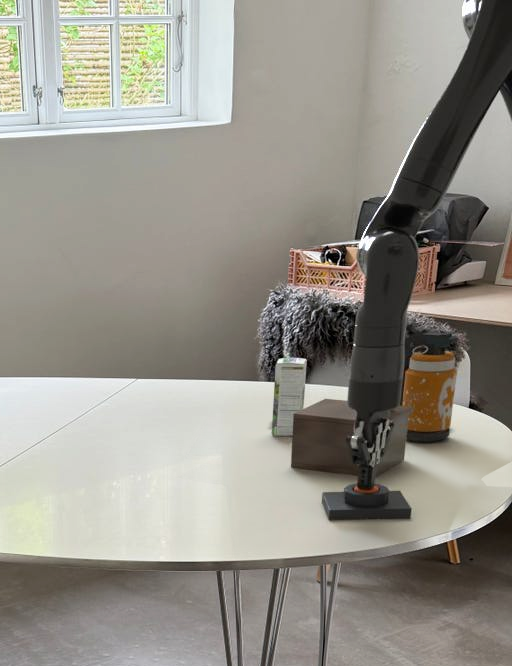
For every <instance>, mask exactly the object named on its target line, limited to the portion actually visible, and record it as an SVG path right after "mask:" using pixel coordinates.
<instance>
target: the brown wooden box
mask: <svg viewBox="0 0 512 666" xmlns="http://www.w3.org/2000/svg"><path fill="white" fill-rule="evenodd" d="M408 418H409V414H408V415H406V416H405V417H403V418H401V419H399V420H397V421H396V422H395V426H394V428H393V431H392V434H391V437H390V440H389V443H388V445H387V448H386V451H385V454H384V456H383V457H380V461H379V463H378V464H376V465H377V466H376V476H375V479H377V478H378V477H380V476H382V475H383V474H384V473H386V472H388V471H389V470H391V469H393V468H394V467H396V466H397V465H399V464H400V463H402V462H404V461H405V456H406V445H407V439H406V437H407V427H408ZM353 435H354V424H345V423H336V422H326V421H317V420H308V419H298V418H293V435H292V436H291V437H292V438H291V455H290V457H291V458H290V467H291V468H294V469H295V468H296V469H303V470H309V471H317V472H323V473H324V472H325V473H331V474H332V473H333V474H339V475H340V474H341V475H348V476H356V477H358V469H359V465H357V464H353V463H352V461H351V457H350V454H349V451H348V448H347V445H346V438H347V436H353Z"/></svg>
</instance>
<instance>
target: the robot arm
mask: <svg viewBox="0 0 512 666" xmlns="http://www.w3.org/2000/svg"><path fill="white" fill-rule="evenodd" d="M461 21H462V24H463V25H462V26H463V28H464V31H465V34H466V36H467V38H468V42H467V45H466V48H465V51H464V53H463V55H462V57H461V60H460V62H459V64H458V66H457V68H456V70H455V72H454V73H453V75H452V78H451V79H450V80H449V83H448V85H447V86H446V88H445V89H444V91H443V93H442V94H441V96H440V98H439V99H438V100H437V102H436V103H435V105H434V107H432V110H431V111H430V113H429V114H428V116H427V117H426V118H425V121H423V124H422V125H421V127H420V128H419V130H418V132H417V134H416V135H415V137H414V139H413V141H412V143H411V145H410V147H409V148H408V151H407V153H406V155H405V157H404V159H403V162H402V163H401V165H400V168H399V170H398V172H397V174H396V177H395V178H394V181H393V183H392V186H391V187H390V191H389V192H388V194H387V196H386V198H385V199H384V200H383V202H382V203H381V205H379V208H378V209H377V211H376V212H375V214H374V216H373V217H372V219H371V221H370V222H369V224H368V226H367V227H366V229H365V231H364V232H363V235H362V237H361V239H360V242H359V244H358V247H357V250H356V264H357V268H358V270H359V271H360V273H361V274H362V275H363V276H364V277H365V283H364V284H365V285H364V293H363V301H362V303H361V304H360V305H359V306H358V308H357V311H356V316H355V323H354V334H353V335H354V336H353V346H352V352H351V356H350V363H349V376H348V387H347V388H348V389H347V400H346V401H347V405H348V407H349V408H351V409H354V410H355V411H356V412H357V415H356V420H355V422H354V435H353V436H347V438H346V445H347V448H348V451H349V454H350V457H351V461H352V463H353V464H357V465H359V469H358V476H357V481H356V483H357V487H358V488H359V489H364V490H370V489H371V488H373V487H374V486H375V484H376V478H375V476H376V466H377V465H376V464H378V463H379V461H380V457H383V456H384V454H385V451H386V448H387V445H388V443H389V440H390V437H391V434H392V431H393V428H394V426H395V422H394V421H389V419H388V417H389V411H390V410H394V409H396V408H398V407H399V405H400V400H401V391H402V381H403V371H404V361H405V352H404V348H405V346H404V342H405V339H406V333H407V323H408V309H409V307H410V303H411V300H412V297H413V293H414V289H415V285H416V281H417V276H418V273H419V265H420V249H419V245H418V243H417V240H416V237H417V235H418V233H419V232H420V230H421V228H422V226H423V224H424V222H425V221H426V220H427V219H428V218H429V217H431V216H432V215H433V214H435V212H437V210H438V208H439V207H440V206H441V204H442V202H443V200H444V198H445V197H446V194H447V192H448V191H449V189H450V186H451V185H452V182H453V180H454V178H455V176H456V175H457V172H458V170H459V168H460V166H461V164H462V162H463V159H464V157H465V155H466V153H467V152H468V149H469V147H470V146H471V144H472V142H473V140H474V138H475V136H476V134H477V132H478V130H479V128H480V127H481V124H482V122H483V120H484V119H485V117H486V115H487V113H488V111H489V110H490V107H491V106H492V104H493V102H494V100H495V99H496V98H497V95H498V94H499V93H500V95H501V97H502V99H503V102H504V105H505V107H506V110H507V114H508V116H509V118H510V120H511V122H512V0H463V2H462V8H461Z"/></svg>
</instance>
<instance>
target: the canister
mask: <svg viewBox="0 0 512 666" xmlns="http://www.w3.org/2000/svg"><path fill="white" fill-rule="evenodd" d="M458 339H459V337H458V336H456V335H453V332H449V331H448V332H447V331H446V332H433V331H432V332H430V331H428V330H426V329H422V330H418V331H416V332H415V333H413V334H411V335H409V336H408V337H405V342H404V352H405V361H404V371H403V381H402V391H401V400H400V405H399V406H410V407H414V411H413V412H412V413H410V414H409V418H408V427H407V437H406V440H407V441H410V442H415V443H434V442H440V441H441V440H443V439H444V440H445V439H447V438H449V436H450V433H451V425H452V415H453V407H454V401H455V400H454V399H455V390H456V384H457V374H458V371H457V370H456V369H455V364H456V357H455V354H454V353H453V352H451V351H448V350H446V349H445V348H448V347H450V346H451V344H453V343H456V342H458ZM413 343H414V345H411V344H413Z"/></svg>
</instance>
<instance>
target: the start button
mask: <svg viewBox="0 0 512 666" xmlns="http://www.w3.org/2000/svg"><path fill="white" fill-rule="evenodd" d="M354 491H356V492H359V493H375V492H379V488H378V487H376V486H374V487H373V488H371V489H370V490H364V489H359V488H358V487H357V486H356V487H355V488H354Z"/></svg>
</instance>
